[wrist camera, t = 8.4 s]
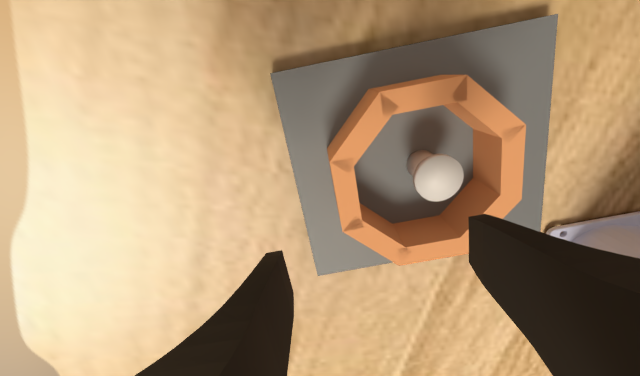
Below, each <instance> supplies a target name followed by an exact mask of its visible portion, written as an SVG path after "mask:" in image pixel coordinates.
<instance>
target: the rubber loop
mask: <svg viewBox="0 0 640 376" xmlns="http://www.w3.org/2000/svg"><path fill="white" fill-rule="evenodd" d="M440 105H444V106H445V107H446V108H447V109H449V110H450V111H451V112H452V113H454V114H455V115H456V116H458V117H459V118H460V119H461V120H463V121H464V122H465V123H466V124H468V125H469V126H470V127H471V128H473V178H472V180H471V181H470V182H469V183H468V184H467V185H466V186H465V187H464V189H463V190H462V191H461V192H460V193H459V194H458V195H457V196H456V197H455V199H454V200H453V201H452V202H451V203H450V204H449V205H448V206H447V208H446V209H445V210H444V211H443V212H442V213H441V214H440V215H438V216H433V217H427V218H422V219H416V220H411V221H405V222H400V223H394V224H392V223H390V222H389V221H387V220H386V219H384V218H383V217H381V216H379V215H378V214H376V213H375V212H373V211H372V210H370V209H368V208H367V207H365V206H364V205H362V204H361V203H359V197H358V191H357V184H356V178H355V171H354V166H355V164H356V163H357V162H358V160H359V159H360V158H361V156H362V155H363V154H364V152H365V151H366V150H367V148H368V147H369V145H370V144H371V143H372V141H373V140H374V139H375V137H376V136H377V135H378V133H379V132H380V131H381V129H382V128H383V127H384V125H385V124H386V123H387V121H388V120H389V119H390V117H391V116H392V115H394V114H399V113H404V112H409V111H414V110H419V109H425V108H430V107H435V106H440ZM525 135H526V124H525V123H524V122H522V121H521V120H520V119H519V118H518V117H517V116H515V115H514V114H513V113H512V112H511V111H509V110H508V109H507V108H506V107H505V106H504V105H502V104H501V103H500V102H499V101H498V100H496V99H495V98H494V97H493V96H492V95H490V94H489V93H488V92H487V91H486V90H485V89H483V88H482V87H481V86H480V85H479V84H477V83H476V82H475V81H474V80H473V79H472V78H470V77H469V76H468V75H437V76H432V77H427V78H422V79H416V80H411V81H406V82H401V83H396V84H391V85H386V86H381V87H376V88H371V89H368V90H367V92H366V93H365V95H364V96H363V98H362V99H361V100H360V102H359V103H358V105H357V106H356V108H355V109H354V110H353V112H352V113H351V115H350V116H349V117H348V119H347V120H346V122H345V123H344V125H343V126H342V127H341V129H340V130H339V132H338V133H337V135H336V136H335V137H334V139H333V140H332V142H331V143H330V145H329V146H328V147H327V153H328V158H329V164H330V169H331V175H332V180H333V185H334V191H335V196H336V202H337V207H338V212H339V217H340V222H341V227H342V232H344V233H345V234H347V235H349V236H350V237H352V238H354V239H355V240H357V241H359V242H360V243H362V244H364V245H365V246H367V247H369V248H370V249H372V250H374V251H375V252H377V253H379V254H380V255H382V256H384V257H385V258H387V259H389V260H390V261H392V262H394V263H395V264H397V265H399V266H400V265H406V264H412V263H417V262H423V261H429V260H434V259H440V258H446V257H451V256H457V255H463V254H469V222H468V217H470V216H476V215H481V214H487V215H491V216H495V217H498V218H501V219H503V218H504V217H505V216H506V215H507V214H508V213H509V212H510V211H511V210H512V209H513V208H514V207H515V206H516V205H517V204H518V203H519V202H520V201H521V200H522V186H523V169H524V152H525Z"/></svg>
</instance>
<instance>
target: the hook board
mask: <svg viewBox="0 0 640 376" xmlns="http://www.w3.org/2000/svg"><path fill="white" fill-rule="evenodd" d="M557 20H558V14H555V15H550V16H545V17H540V18H536V19H531V20H526V21H521V22H516V23H511V24H507V25H502V26H497V27H492V28H487V29H483V30H478V31H473V32H468V33H463V34H458V35H454V36H449V37H444V38H439V39H434V40H429V41H425V42H420V43H415V44H410V45H405V46H400V47H396V48H391V49H386V50H381V51H376V52H371V53H367V54H362V55H357V56H352V57H347V58H342V59H338V60H333V61H328V62H323V63H318V64H313V65H309V66H304V67H299V68H294V69H289V70H284V71H280V72H275V73H270V74H271V79H272V83H273V87H274V92H275V96H276V100H277V104H278V109H279V113H280V117H281V121H282V126H283V130H284V134H285V138H286V143H287V147H288V151H289V155H290V160H291V164H292V168H293V172H294V177H295V181H296V185H297V189H298V194H299V198H300V202H301V206H302V211H303V215H304V219H305V223H306V228H307V232H308V236H309V240H310V245H311V249H312V253H313V257H314V262H315V266H316V270H317V274H318V276H320V275H326V274H331V273H337V272H342V271H348V270H354V269H359V268H365V267H370V266H376V265H381V264H387V263H392V261H390V260H389V259H387V258H385V257H384V256H382V255H380V254H379V253H377V252H375V251H374V250H372V249H370V248H369V247H367V246H365V245H364V244H362V243H360V242H359V241H357V240H355V239H354V238H352V237H350V236H349V235H347V234H345V233H344V232H342V227H341V222H340V217H339V212H338V207H337V202H336V196H335V191H334V185H333V180H332V175H331V169H330V164H329V158H328V153H327V147H328V146H329V145H330V143H331V142H332V140H333V139H334V137H335V136H336V135H337V133H338V132H339V130H340V129H341V127H342V126H343V125H344V123H345V122H346V120H347V119H348V117H349V116H350V115H351V113H352V112H353V110H354V109H355V108H356V106H357V105H358V103H359V102H360V100H361V99H362V98H363V96H364V95H365V93H366V92H367V90H368V89H371V88H376V87H381V86H386V85H391V84H396V83H401V82H406V81H411V80H416V79H422V78H427V77H432V76H437V75H468V76H469V77H470V78H472V79H473V80H474V81H475V82H476V83H477V84H479V85H480V86H481V87H482V88H483V89H485V90H486V91H487V92H488V93H489V94H490V95H492V96H493V97H494V98H495V99H496V100H498V101H499V102H500V103H501V104H502V105H504V106H505V107H506V108H507V109H508V110H509V111H511V112H512V113H513V114H514V115H515V116H517V117H518V118H519V119H520V120H521V121H522V122H524V123H525V124H526V135H525V152H524V169H523V186H522V200H521V201H520V202H519V203H518V204H517V205H516V206H515V207H514V208H513V209H512V210H511V211H510V212H509V213H508V214H507V215H506V216H505V217H504V218H503V219H504V220H507V221H510V222H513V223H516V224H518V225H521V226H524V227H527V228H530V229H533V230H536V231H539V232H540V230H541V217H542V205H543V193H544V180H545V168H546V156H547V143H548V131H549V119H550V107H551V94H552V82H553V70H554V57H555V45H556V33H557ZM354 171H355V178H356V184H357V191H358V197H359V203H361V204H362V205H364V206H365V207H367V208H368V209H370V210H372V211H373V212H375V213H376V214H378V215H379V216H381V217H383V218H384V219H386V220H387V221H389V222H390V223H392V224H394V223H400V222H405V221H411V220H416V219H422V218H427V217H433V216H438V215H440V214H441V213H442V212H443V211H444V210H445V209H446V208H447V206H448V205H449V204H450V203H451V202H452V201H453V200H454V199H455V197H456V196H457V195H458V194H459V193H460V192H461V191H462V190H463V189H464V187H465V186H466V185H467V184H468V183H469V182H470V181H471V180H472V178H473V128H471V127H470V126H469V125H468V124H466V123H465V122H464V121H463V120H461V119H460V118H459V117H458V116H456V115H455V114H454V113H452V112H451V111H450V110H449V109H447V108H446V107H445V106H444V105H440V106H435V107H430V108H425V109H419V110H414V111H409V112H404V113H399V114H394V115H392V116H391V117H390V119H389V120H388V121H387V123H386V124H385V125H384V127H383V128H382V129H381V131H380V132H379V133H378V135H377V136H376V137H375V139H374V140H373V141H372V143H371V144H370V145H369V147H368V148H367V150H366V151H365V152H364V154H363V155H362V156H361V158H360V159H359V160H358V162H357V163H356V164H355V166H354Z"/></svg>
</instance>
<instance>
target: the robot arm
mask: <svg viewBox="0 0 640 376" xmlns="http://www.w3.org/2000/svg"><path fill="white" fill-rule="evenodd" d="M468 222H469V263H470V265H471V266H472V268H473V270H474V271H475V273H476V275H477V276H478V278H479V279H480V281H481V283H482V284H483V285H484V287H485V288H486V289H487V290H488V292H489V293H490V294H491V295H492V297H493V298H494V299H495V300H496V302H497V303H498V304H499V305H500V306H501V308H502V309H503V310H504V311H505V312H506V314H507V315H508V316H509V317H510V318H511V320H512V321H513V322H514V323H515V324H516V326H517V327H518V328H519V329H520V330H521V332H522V333H523V334H524V335H525V337H526V338H527V339H528V340H529V342H530V343H531V344H532V346H533V347H534V348H535V350H536V351H537V353H538V354H539V356H540V357H541V359H542V360H543V362H544V363H545V365H546V366H547V367H548V369H549V370H550V372H551V373H552V375H553V376H640V211H639V212H633V213H628V214H622V215H617V216H611V217H605V218H600V219H594V220H589V221H583V222H578V223H572V224H567V225H561V226H556V227H552V228H550V229H548V231H547V232H546V234H545V233H542V232H539V231H536V230H533V229H530V228H527V227H524V226H521V225H518V224H516V223H513V222H510V221H507V220H504V219H501V218H498V217H495V216H491V215H487V214H481V215H476V216H470V217H468ZM562 231H563V232H562ZM561 232H562V233H561ZM560 233H561V234H560ZM293 318H294V297H293V289H292V286H291V282H290V278H289V275H288V271H287V267H286V264H285V260H284V256H283V252H282V250H281V251H276V252H270V253H266V254H265V256H264V257H263V258H262V259H261V261H260V262H259V263H258V265H257V266H256V267H255V268H254V270H253V271H252V272H251V274H250V275H249V276H248V277H247V279H246V280H245V281H244V282H243V283H242V285H241V286H240V287H239V288H238V289H237V290H236V291H235V293H234V294H233V295H232V296H231V297H230V298H229V299H228V300H227V302H226V303H225V304H224V305H223V306H222V307H221V308H220V309H219V310H218V311H217V312H216V313H215V314H214V315H213V316H212V317H211V318H210V319H208V320H207V321H206V322H205V323H204V324H203V325H202V326H201V327H200V328H199V329H197V330H196V331H195V332H194V333H192V334H191V335H190V336H189V337H187V338H186V339H185V340H184V341H183V342H181V343H180V344H179V345H178V346H176V347H175V348H174V349H173V350H171V351H170V352H168V353H167V354H166V355H164V356H163V357H162V358H160V359H159V360H157V361H156V362H154V363H153V364H152V365H150V366H149V367H147V368H146V369H144V370H143V371H141V372H140V373H138V374H137V375H135V376H287V369H288V361H289V353H290V344H291V336H292V327H293Z"/></svg>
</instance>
